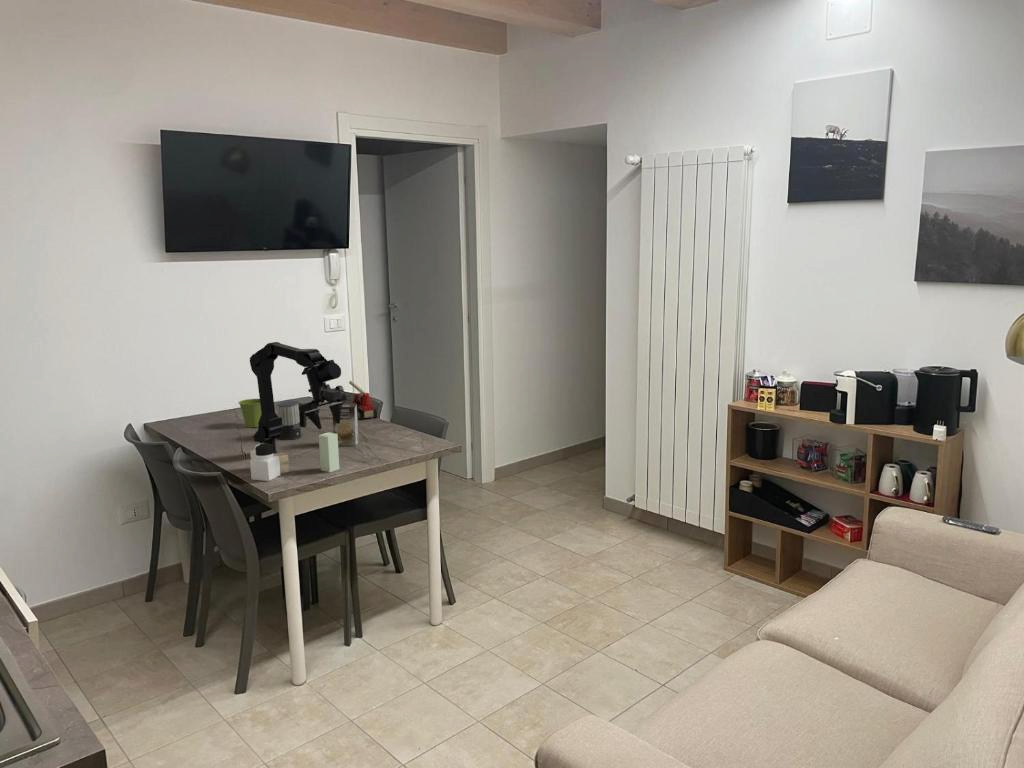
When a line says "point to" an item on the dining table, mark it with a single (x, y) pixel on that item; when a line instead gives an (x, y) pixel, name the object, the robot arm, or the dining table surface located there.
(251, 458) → the plastic canister
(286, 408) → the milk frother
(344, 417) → the coffee box
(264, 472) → the medicine bottle
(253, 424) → the plant pot
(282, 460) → the birch block
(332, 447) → the sage block
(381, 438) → the dining table surface
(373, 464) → the dining table surface
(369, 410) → the toy fire truck
